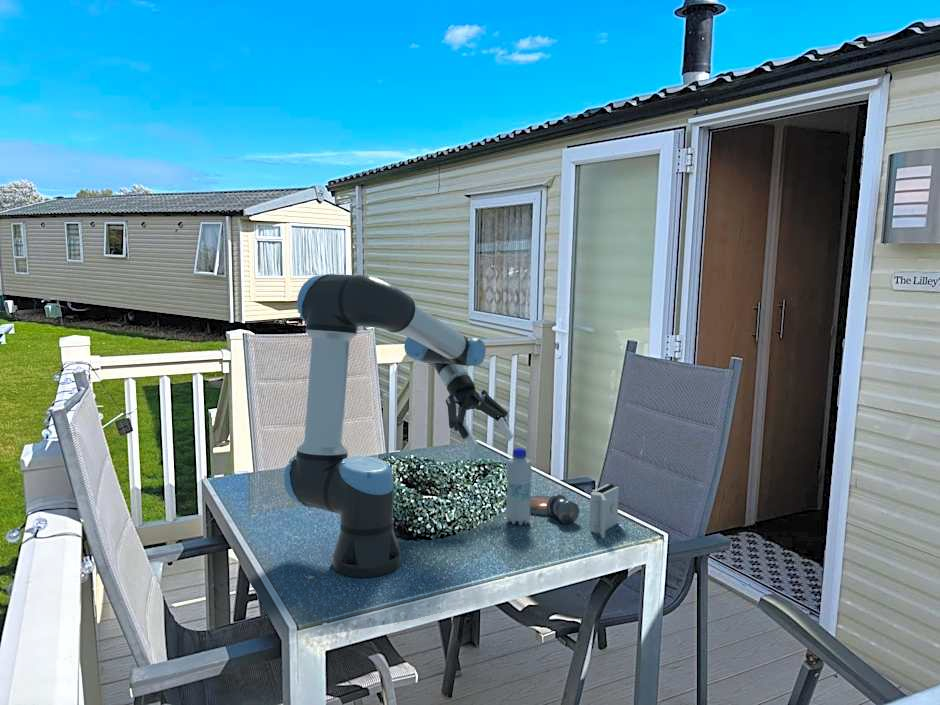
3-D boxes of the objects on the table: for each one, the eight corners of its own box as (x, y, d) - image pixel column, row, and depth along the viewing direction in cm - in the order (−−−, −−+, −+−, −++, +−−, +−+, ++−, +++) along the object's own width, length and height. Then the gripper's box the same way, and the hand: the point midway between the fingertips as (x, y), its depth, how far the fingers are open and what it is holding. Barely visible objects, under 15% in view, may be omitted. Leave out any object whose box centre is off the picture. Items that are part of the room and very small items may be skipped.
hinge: (604, 539, 168) (605, 500, 166) (583, 536, 170) (584, 497, 169) (619, 521, 180) (620, 485, 179) (599, 518, 182) (600, 482, 181)
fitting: (591, 520, 180) (592, 499, 180) (545, 527, 175) (545, 504, 174) (554, 497, 199) (555, 477, 199) (511, 502, 194) (511, 481, 194)
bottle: (526, 516, 183) (527, 444, 180) (534, 525, 176) (535, 450, 174) (502, 518, 181) (503, 445, 179) (509, 527, 175) (510, 451, 173)
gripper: (483, 385, 204) (517, 443, 195) (417, 394, 188) (451, 458, 179) (495, 369, 200) (531, 428, 190) (428, 377, 183) (464, 442, 174)
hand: (492, 442), depth 184 cm, fingers open, 13 cm apart
